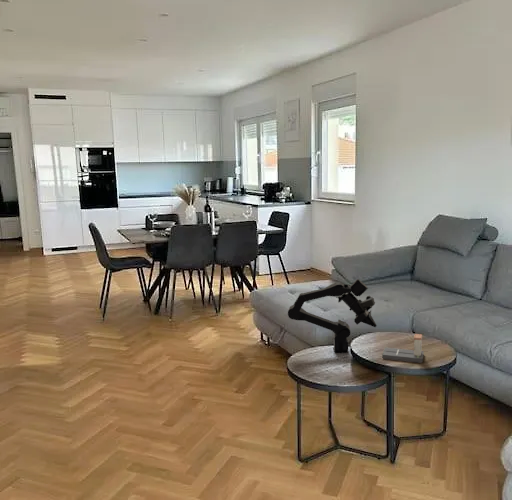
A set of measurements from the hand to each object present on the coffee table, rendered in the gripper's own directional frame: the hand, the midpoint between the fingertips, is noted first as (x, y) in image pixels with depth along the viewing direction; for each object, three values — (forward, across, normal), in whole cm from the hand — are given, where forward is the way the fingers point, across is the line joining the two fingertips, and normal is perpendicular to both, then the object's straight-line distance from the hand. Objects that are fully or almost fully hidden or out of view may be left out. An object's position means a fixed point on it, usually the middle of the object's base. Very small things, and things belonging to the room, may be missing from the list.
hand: (375, 326), depth 239 cm
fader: (+22, -1, -6) cm, 23 cm away
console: (+19, -1, +1) cm, 19 cm away
